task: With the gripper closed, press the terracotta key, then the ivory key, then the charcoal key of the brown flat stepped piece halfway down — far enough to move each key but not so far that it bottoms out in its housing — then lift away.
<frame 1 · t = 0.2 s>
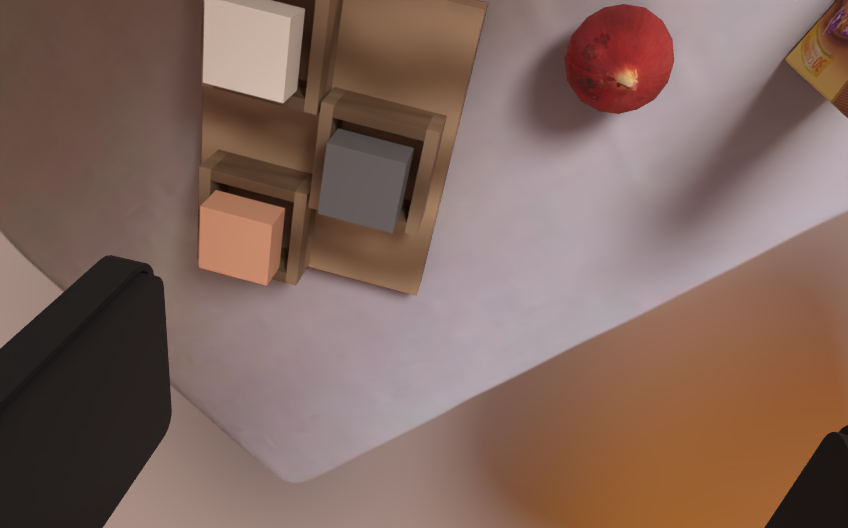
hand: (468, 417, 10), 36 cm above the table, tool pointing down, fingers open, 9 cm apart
terracotta key: (241, 238, 46), point 6 cm above the table, slide at 0.0 cm
pomegranate: (614, 42, 42), on the table
charcoal key: (365, 181, 42), point 6 cm above the table, slide at 0.0 cm
ivory key: (253, 46, 39), point 6 cm above the table, slide at 0.0 cm
brown flat stepped piece: (332, 128, 47), on the table
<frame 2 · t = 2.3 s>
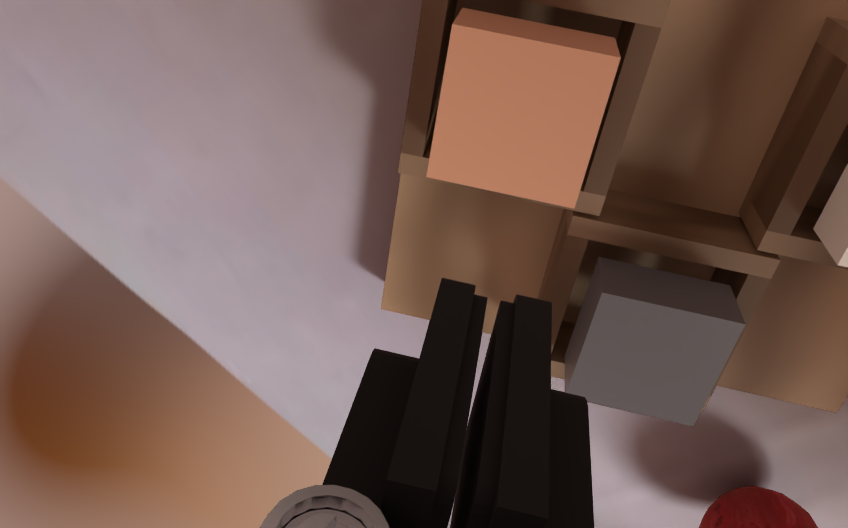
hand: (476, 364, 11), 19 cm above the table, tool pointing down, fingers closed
terracotta key: (518, 108, 21), point 6 cm above the table, slide at 0.0 cm
pomegranate: (742, 488, 37), on the table
charcoal key: (646, 342, 25), point 6 cm above the table, slide at 0.0 cm
brown flat stepped piece: (661, 174, 28), on the table
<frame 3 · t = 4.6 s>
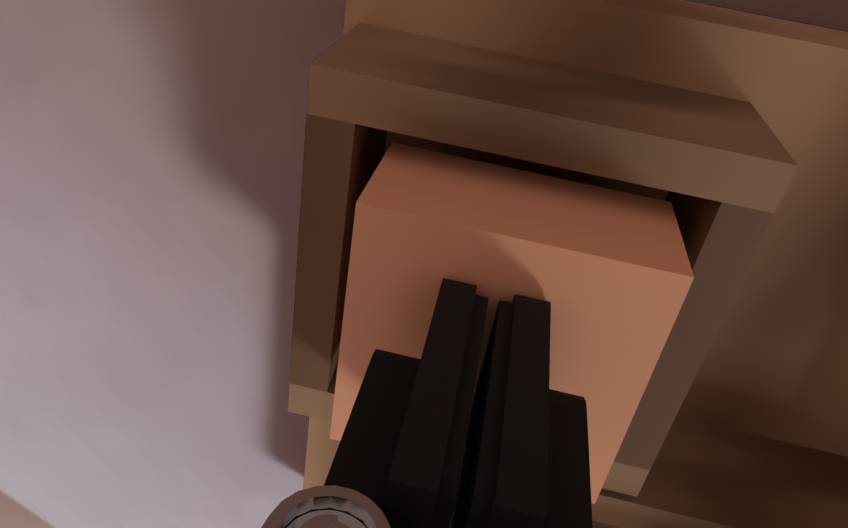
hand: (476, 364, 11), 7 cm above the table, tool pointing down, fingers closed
terracotta key: (494, 324, 12), point 5 cm above the table, slide at 1.0 cm, touching gripper
brown flat stepped piece: (727, 368, 18), on the table
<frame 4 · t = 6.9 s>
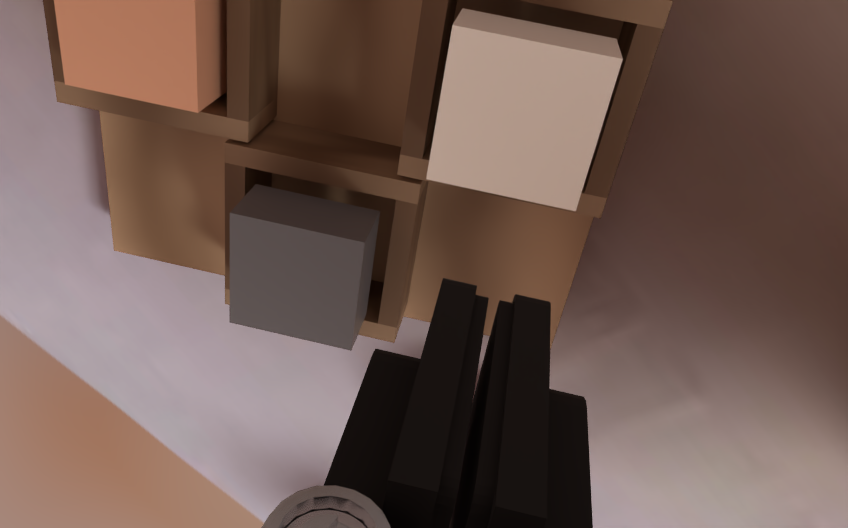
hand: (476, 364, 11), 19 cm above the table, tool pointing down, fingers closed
terracotta key: (144, 19, 23), point 5 cm above the table, slide at 1.3 cm
charcoal key: (303, 267, 26), point 6 cm above the table, slide at 0.0 cm
ivory key: (519, 110, 21), point 6 cm above the table, slide at 0.0 cm
brown flat stepped piece: (356, 111, 29), on the table
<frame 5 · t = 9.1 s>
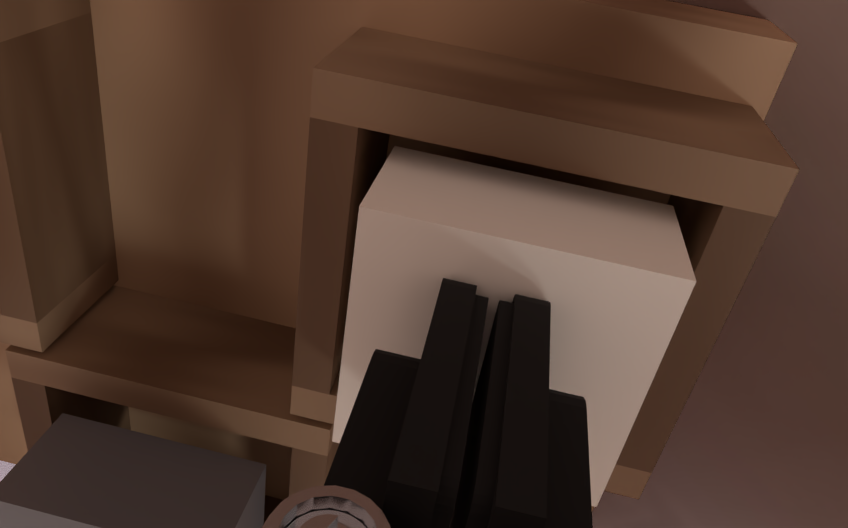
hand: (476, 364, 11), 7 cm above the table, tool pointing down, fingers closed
ivory key: (496, 327, 12), point 5 cm above the table, slide at 1.0 cm, touching gripper
brown flat stepped piece: (254, 261, 19), on the table
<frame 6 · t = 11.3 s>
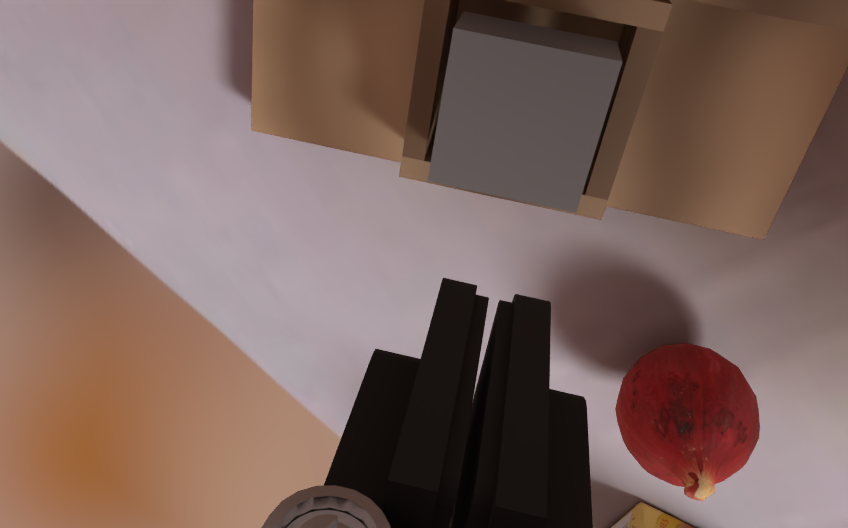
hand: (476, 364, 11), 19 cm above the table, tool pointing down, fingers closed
pomegranate: (673, 356, 33), on the table
charcoal key: (520, 112, 21), point 6 cm above the table, slide at 0.0 cm
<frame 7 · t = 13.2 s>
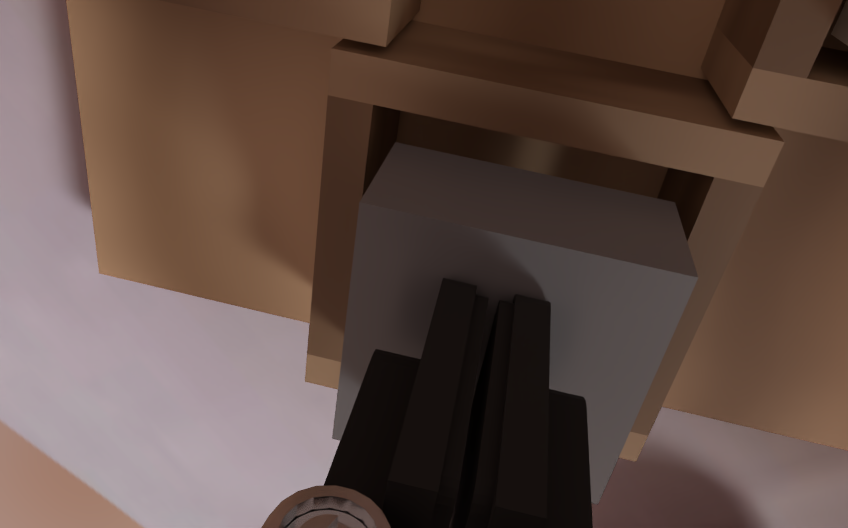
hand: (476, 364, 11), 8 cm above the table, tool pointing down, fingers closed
charcoal key: (497, 324, 12), point 6 cm above the table, slide at 0.0 cm, touching gripper
brown flat stepped piece: (560, 13, 15), on the table
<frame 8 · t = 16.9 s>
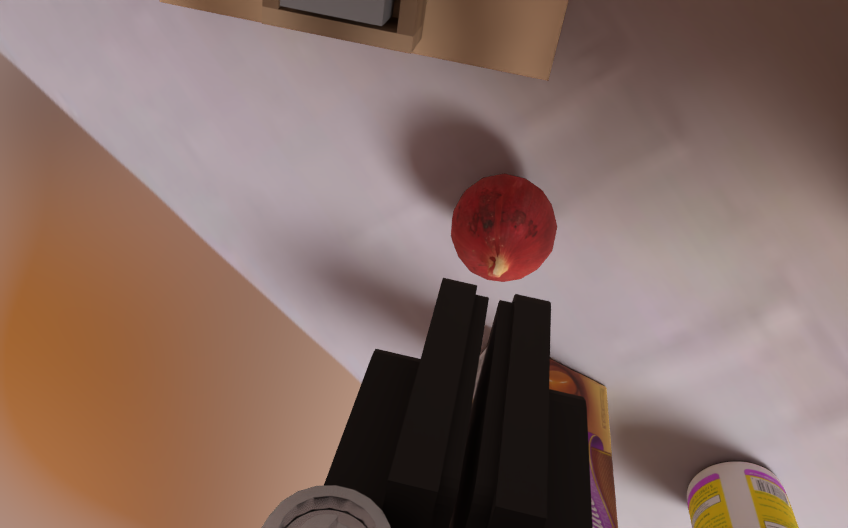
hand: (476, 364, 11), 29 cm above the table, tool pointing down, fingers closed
supplement bottle: (732, 487, 50), on the table
pomegranate: (507, 197, 41), on the table
candy box: (537, 376, 48), on the table
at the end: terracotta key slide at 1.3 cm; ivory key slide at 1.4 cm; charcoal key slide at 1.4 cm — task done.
